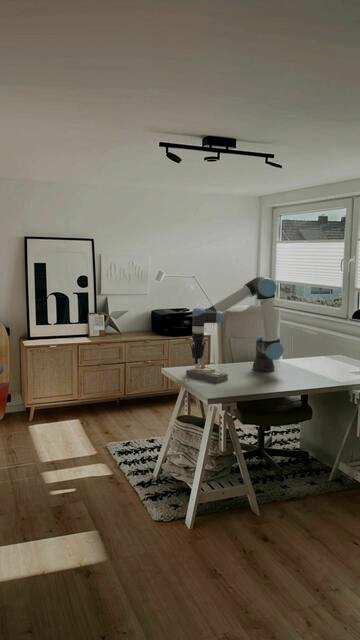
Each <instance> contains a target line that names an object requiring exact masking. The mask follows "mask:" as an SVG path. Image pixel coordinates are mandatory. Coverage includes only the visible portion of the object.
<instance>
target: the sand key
mask: <svg viewBox="0 0 360 640" xmlns="http://www.w3.org/2000/svg"><path fill="white" fill-rule="evenodd" d="M209 368H210V367H208V368H204V369H201V372H202V373H206V374H209V373H212V369H213V368H211V369H209Z"/></svg>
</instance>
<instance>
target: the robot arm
mask: <svg viewBox="0 0 360 640" xmlns="http://www.w3.org/2000/svg"><path fill="white" fill-rule="evenodd" d="M276 292H277V284H276V282H275V281H274V280H273V279H272V278H270V277H263V276H257V277H254V278H253V279H251V280H249V281H248V282H247V283H245V284H244V285H243V287H241V288H239V289H237V290H236V291H234V292H232V293H231V294H229V295H227V297H225V298H223V299H222V300H219V301H218V302H217V303H215V304H213V305H210V307H207V308H203V307H202V308H201V307H200V308H199V307H196V308H193V309H192V331H191V332H192V334H191V337H192V339H193V341H192V343H190V345H189V346H190V351H191V356H192V359H194V368H195V369H200V367H201V359H202V358H201V357H203V352H204V346H205V347H206V341H205V342H203V339H204V337H205V324H222V322H223V321H224V315H223V313H226V311H228V310H229V309H231V308H233V307H235V306H236V305H238V304H240V303H241V302H243V301H244V300H246V299H248V298H253V297H254V296H256V300H257V301H258V302H259V305H260V313H261V314H260V315H261V323H262V330H263V331H262V332H263V336H257V337H256V341H255V358H254V361H253V364H252V370H254V371H257V372H264V373H265V372H268V373H269V372H274V371H275V370H276V369H275V368H276V367H275V364H274V361H275V360H278V359H280V358H281V357H282V356H283V354H284V347H283V345H282V344H281V339H280V336H278V331H277V323H276V314H275V313H276V312H275V306H274V299H275V298H276V295H275V294H276Z"/></svg>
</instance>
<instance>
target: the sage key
mask: <svg viewBox="0 0 360 640" xmlns="http://www.w3.org/2000/svg"><path fill="white" fill-rule="evenodd" d="M217 372H218V371H215V373H211V375H215V376H219V375H222V373H223V372H220V373H217Z"/></svg>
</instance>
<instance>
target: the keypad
mask: <svg viewBox="0 0 360 640" xmlns="http://www.w3.org/2000/svg"><path fill="white" fill-rule="evenodd" d="M192 369H195V367H194V368H190V369H186V370H185V377H188V378H192V379H196V380H201V381H205V382H208V383H213V384H219V383H223V382H227V381H229V380H228V379H229V377H228V376H229V375H228V373H223V372H219V371H216V370H215V371H212V373H215V372H217V373H222V375H219V376H215V375H211V373H209V374H206V373H202V372H201V371H198V372H197V371H193V370H192ZM200 369H201V368H200Z"/></svg>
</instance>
